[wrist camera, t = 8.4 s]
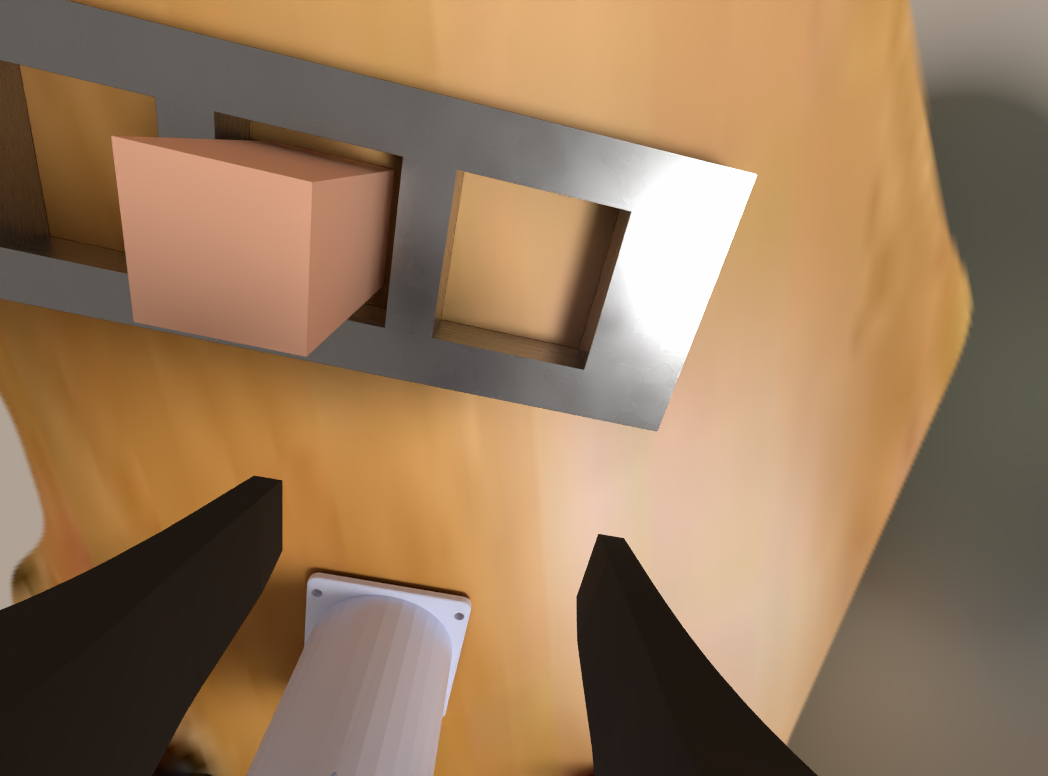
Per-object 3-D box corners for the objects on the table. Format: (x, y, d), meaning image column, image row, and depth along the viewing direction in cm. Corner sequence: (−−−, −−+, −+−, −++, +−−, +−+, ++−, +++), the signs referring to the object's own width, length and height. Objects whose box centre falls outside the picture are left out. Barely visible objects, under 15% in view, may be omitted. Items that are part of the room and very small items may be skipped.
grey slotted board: (645, 406, 20) (657, 431, 19) (-37, 265, 18) (-100, 278, 16) (732, 171, 17) (757, 174, 15) (-117, -42, 14) (-210, -70, 13)
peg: (383, 285, 18) (306, 356, 12) (272, 261, 18) (133, 321, 12) (394, 169, 17) (312, 182, 10) (273, 141, 16) (110, 135, 10)
